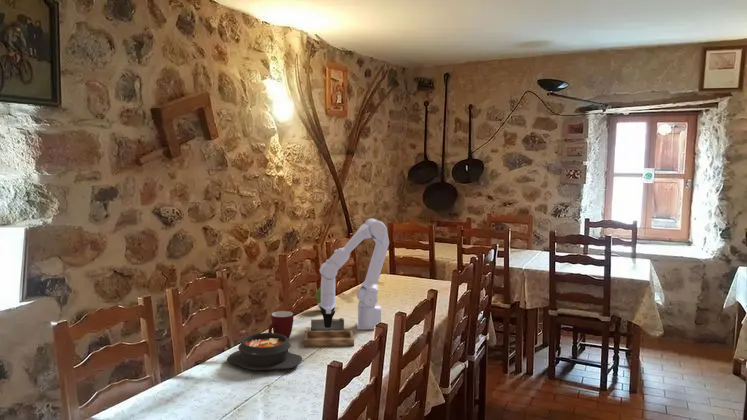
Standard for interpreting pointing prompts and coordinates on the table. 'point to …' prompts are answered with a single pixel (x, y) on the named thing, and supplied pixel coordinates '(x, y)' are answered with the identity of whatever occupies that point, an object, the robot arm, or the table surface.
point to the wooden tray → (329, 338)
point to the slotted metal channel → (319, 325)
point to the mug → (282, 323)
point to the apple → (318, 296)
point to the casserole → (264, 353)
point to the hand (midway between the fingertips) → (327, 326)
